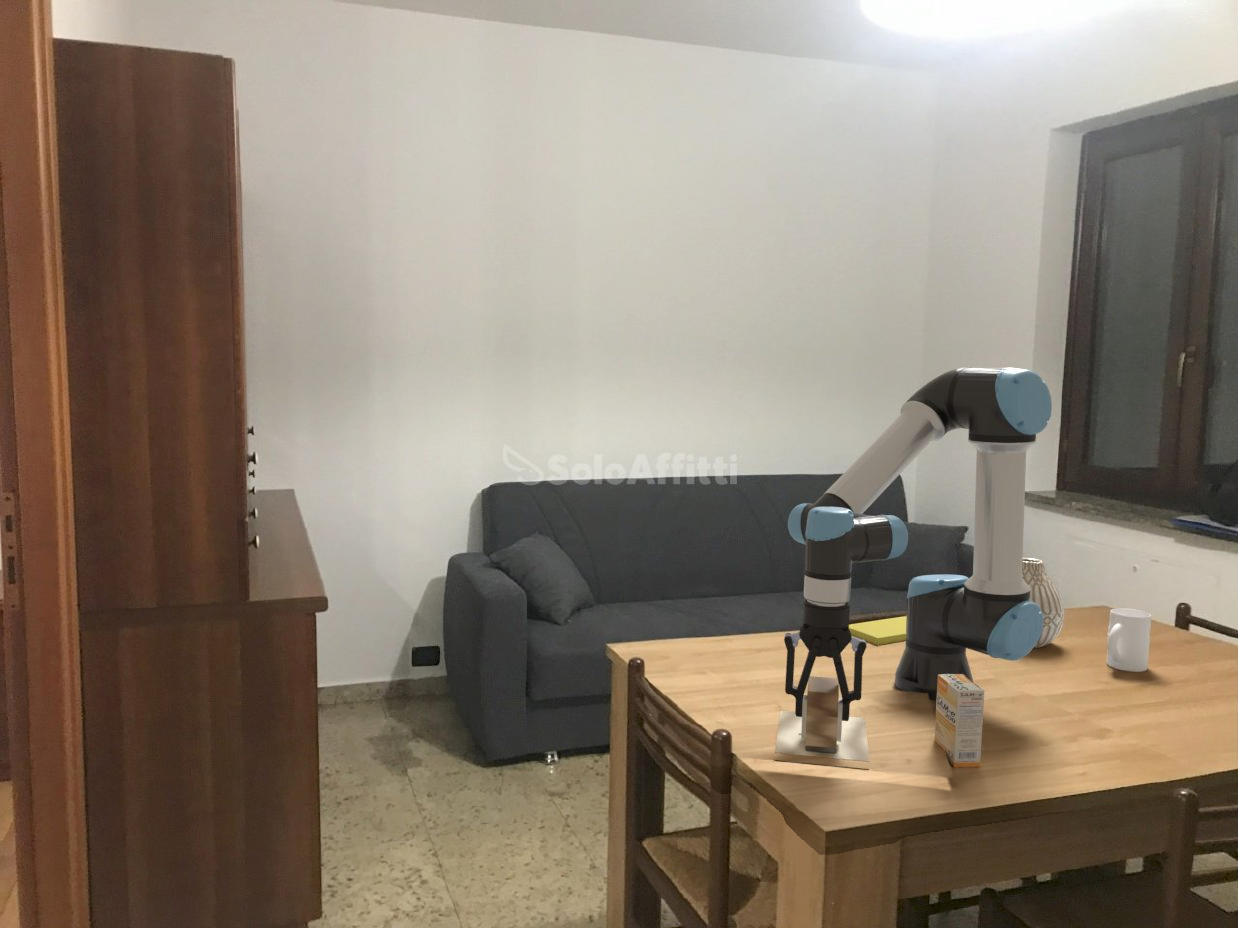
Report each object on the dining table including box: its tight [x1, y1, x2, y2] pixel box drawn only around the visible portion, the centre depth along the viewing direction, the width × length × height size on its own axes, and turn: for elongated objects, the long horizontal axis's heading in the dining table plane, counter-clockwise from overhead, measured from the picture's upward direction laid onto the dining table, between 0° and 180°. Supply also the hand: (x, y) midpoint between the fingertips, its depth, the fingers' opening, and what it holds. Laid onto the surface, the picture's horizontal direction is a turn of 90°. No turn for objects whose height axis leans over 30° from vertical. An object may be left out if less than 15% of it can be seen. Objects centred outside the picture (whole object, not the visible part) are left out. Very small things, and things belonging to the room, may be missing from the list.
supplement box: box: [934, 674, 985, 768], centre depth 162 cm, size 8×5×13 cm, turn 5°
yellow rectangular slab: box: [849, 615, 907, 646], centre depth 239 cm, size 12×2×24 cm
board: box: [774, 710, 870, 771], centre depth 168 cm, size 15×20×2 cm
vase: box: [1022, 557, 1065, 649], centre depth 231 cm, size 16×16×20 cm
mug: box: [1106, 607, 1152, 673], centre depth 213 cm, size 8×12×12 cm
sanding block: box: [805, 675, 840, 753], centre depth 163 cm, size 5×8×10 cm, turn 168°
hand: (821, 736), depth 164 cm, fingers closed on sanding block, 5 cm apart
